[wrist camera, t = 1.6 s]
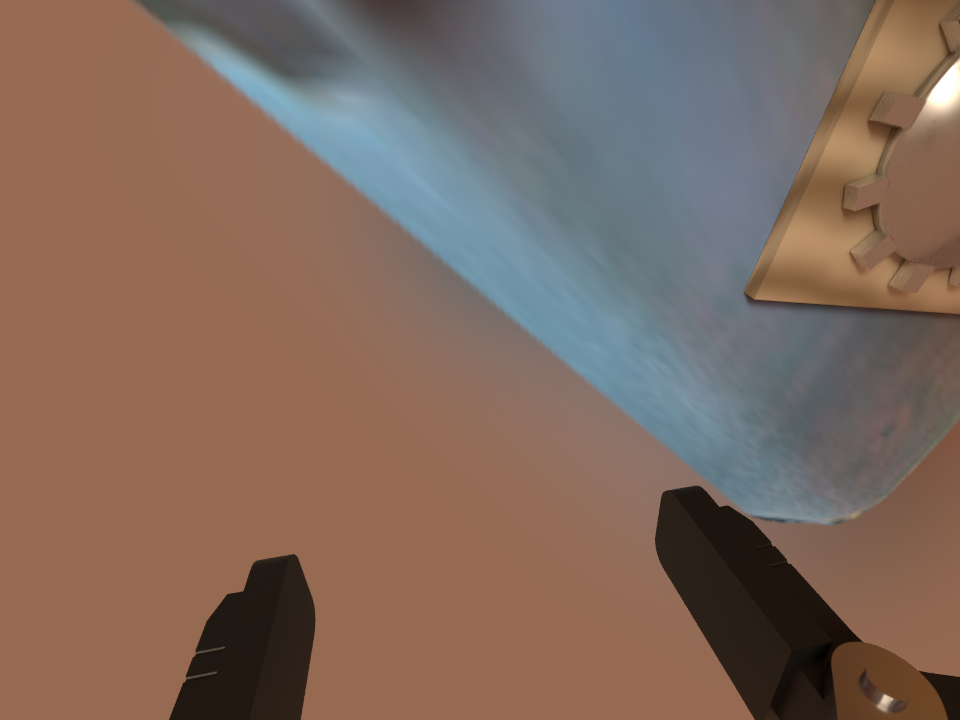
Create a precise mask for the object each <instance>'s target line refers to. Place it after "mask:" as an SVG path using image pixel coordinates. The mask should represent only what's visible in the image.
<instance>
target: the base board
mask: <svg viewBox="0 0 960 720" xmlns="http://www.w3.org/2000/svg"><path fill="white" fill-rule="evenodd" d="M958 5H960V0H876V1H875V3H874V6H873V8H872V10H871V12H870V14H869V17H868V19H867V21H866V23H865V26H864V28H863V30H862V32H861V34H860V37H859V39H858V41H857V43H856V45H855V48H854V50H853V52H852V54H851V57H850V59H849V61H848V63H847V65H846V68H845V70H844V72H843V74H842V76H841V79H840V81H839V83H838V85H837V88H836V90H835V92H834V94H833V96H832V99H831V101H830V103H829V105H828V107H827V110H826V112H825V114H824V116H823V119H822V121H821V123H820V125H819V127H818V130H817V132H816V134H815V136H814V138H813V141H812V143H811V145H810V147H809V150H808V152H807V154H806V156H805V158H804V161H803V163H802V165H801V167H800V170H799V172H798V174H797V176H796V178H795V181H794V183H793V185H792V187H791V189H790V192H789V194H788V196H787V198H786V201H785V203H784V205H783V207H782V209H781V212H780V214H779V216H778V218H777V220H776V223H775V225H774V227H773V229H772V232H771V234H770V236H769V238H768V240H767V243H766V245H765V247H764V249H763V251H762V254H761V256H760V258H759V260H758V263H757V265H756V267H755V269H754V271H753V274H752V276H751V278H750V280H749V282H748V285H747V287H746V289H745V291H744V293H746V294H747V295H749V296H750V297H752V298H753V299H756V300H770V301H784V302H798V303H812V304H826V305H840V306H855V307H869V308H883V309H897V310H911V311H925V312H939V313H953V314H960V287H957V286H955V285H952V284H950V283H949V280H950V276H951V273H952V269H953V267H950V268H935V269H934V270H933V272H932V273H931V274H930V276H929V277H928V278H927V280H926V281H925V282H924V284H923V285H922V286H921V288H920V289H919V290H918V292H917V293H913V292H908V291H902V290H899V289H897V288H895V287H892V286H890V285H888V284H889V283H890V282H891V280H892V279H893V277H894V276H895V274H896V273H897V272H898V270H899V269H900V267H901V266H902V264H903V263H904V262H905V260H906V259H905V258H902V257H900V256H898V255H897V254H895V253H893V252H892V253H891V254H890V255H889V256H887V257H886V258H885V259H884V260H882V261H881V262H880V263H878V264H877V265H876V266H875V267H873V268H872V269H871V270H869V269H867V268H864V267H862V266H860V265H858V264H857V262H856V260H855V259H854V257H853V256H852V254H851V252H850V251H852V250H853V249H854V248H855V247H856V246H858V245H859V244H860V243H861V242H863V241H864V240H865V239H866V238H868V237H869V236H870V235H871V234H872V233H874V232H875V231H876V230H877V229H876V226H875V223H874V217H873V211H872V206H869V207H866V208H863V209H860V210H857V211H853V210H850V209H847V208H843V201H844V192H845V184H848V183H851V182H854V181H857V180H860V179H863V178H865V177H868V176H871V175H874V174H876V173H877V169H878V165H879V162H880V159H881V157H882V154H883V151H884V148H885V146H886V143H887V141H888V139H889V137H890V135H891V133H892V131H893V129H894V127H891V126H887V125H884V124H880V123H877V122H873V121H870V120H869V118H870V117H871V115H872V113H873V111H874V110H875V108H876V106H877V104H878V103H879V101H880V99H881V97H882V96H883V94H884V92H901V93H905V94H908V95H911V96H914V94H915V93H916V92H917V90H918V89H919V87H920V86H921V85H922V84H923V82H924V81H925V80H926V79H927V77H928V76H929V75H930V74H931V72H932V71H933V70H934V69H935V68H936V67H937V65H938V64H939V63H940V62H941V61H942V60H943V59H944V58H945V57H946V56H947V55H948V54H949V53H950V49H949V46H948V43H947V41H946V38H945V35H944V32H943V29H942V27H941V24H940V22H941V21H942V20H943V19H944V18H945V17H946V16H948V15H949V14H950V13H951V12H952V11H953V10H954V9H955V8H956V7H957V6H958Z"/></svg>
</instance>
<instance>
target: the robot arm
mask: <svg viewBox="0 0 960 720" xmlns="http://www.w3.org/2000/svg"><path fill="white" fill-rule="evenodd" d="M655 544H656V551H657V554H658V557H659V560H660V563H661V564H662V566H663V568H664V570H665V572H666V573H667V575H668V577H669V578H670V580H671V581H672V583H673V585H674V586H675V588H676V590H677V591H678V593H679V595H680V597H681V598H682V600H683V601H684V603H685V605H686V606H687V608H688V610H689V611H690V613H691V615H692V616H693V618H694V620H695V621H696V623H697V625H698V626H699V628H700V630H701V631H702V633H703V634H704V636H705V638H706V639H707V641H708V643H709V644H710V646H711V648H712V649H713V651H714V653H715V654H716V656H717V657H718V659H719V661H720V662H721V664H722V666H723V667H724V669H725V671H726V672H727V674H728V676H729V677H730V679H731V681H732V682H733V684H734V685H735V687H736V689H737V691H738V692H739V694H740V696H741V697H742V699H743V701H744V702H745V704H746V706H747V707H748V709H749V710H750V712H751V714H752V715H753V717H754V719H755V720H960V677H955V676H948V675H941V674H934V673H927V672H922V671H918V670H917V669H916V668H914V667H913V666H912V665H911V664H909V663H908V662H906V661H905V660H904V659H902V658H901V657H899V656H897V655H896V654H894V653H892V652H890V651H888V650H886V649H884V648H881V647H879V646H876V645H873V644H869V643H864V642H862V641H861V640H860V639H859V638H858V637H857V636H856V635H855V634H854V633H853V632H852V631H851V630H850V629H849V628H848V627H847V625H846V624H845V623H844V622H843V621H842V620H841V619H840V618H839V617H838V615H837V614H836V613H835V612H834V611H833V610H832V609H831V608H830V607H829V606H828V605H827V603H826V602H825V601H824V600H823V599H822V598H821V597H820V596H819V594H818V593H816V591H815V590H814V589H813V588H812V587H811V586H810V585H809V584H808V582H807V581H806V580H805V579H804V578H803V577H802V576H801V575H800V574H799V572H798V571H797V570H796V569H795V568H794V567H793V566H792V565H791V564H788V563H787V559H786V558H785V557H784V556H783V555H782V554H781V552H779V550H778V549H777V548H776V547H775V546H774V547H773V546H772V544H771V541H770V540H769V539H768V538H767V537H766V536H765V535H764V534H763V533H762V531H761V530H760V529H759V528H758V527H757V526H756V525H755V524H754V522H753V521H751V520H750V519H748V518H746V517H745V516H743V515H742V514H740V513H739V512H737V511H736V510H734V509H733V508H731V507H730V506H722V507H719V506H718V505H717V504H716V503H715V502H714V500H713V499H712V498H711V497H710V495H709V494H708V493H707V492H706V491H705V490H704V489H703V488H702V487H700V486H692V487H685V488H680V489H674V490H668V491H665V492H663V494H662V497H661V503H660V509H659V516H658V523H657V529H656V537H655ZM314 633H315V608H314V603H313V599H312V596H311V593H310V590H309V587H308V585H307V582H306V579H305V576H304V573H303V571H302V568H301V565H300V562H299V560H298V557H297V556H296V555H295V554H292V555H286V556H280V557H275V558H269V559H263V560H258V561H256V562H255V563H254V564H253V565H252V567H251V570H250V573H249V576H248V579H247V582H246V585H245V588H244V591H243V592H238V593H231V594H227V595H226V597H225V598H224V599H223V601H222V602H221V603H220V605H219V606H218V607H217V609H216V610H215V611H214V612H213V614H212V615H211V616H210V618H209V619H208V620H207V622H206V625H205V627H204V630H203V633H202V635H201V638H200V641H199V643H198V646H197V648H196V655H195V657H193V659H192V661H191V664H190V666H189V669H188V672H187V674H186V682H184V683H183V685H182V687H181V690H180V693H179V695H178V698H177V701H176V703H175V706H174V708H173V711H172V713H171V716H170V719H169V720H301V714H302V708H303V702H304V696H305V688H306V683H307V676H308V671H309V664H310V658H311V652H312V646H313V640H314Z"/></svg>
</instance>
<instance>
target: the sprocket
mask: <svg viewBox="0 0 960 720" xmlns="http://www.w3.org/2000/svg"><path fill="white" fill-rule="evenodd" d="M940 24H941V27H942V29H943V32H944V35H945V38H946V41H947V43H948V46H949V49H950V53H949V54H948V55H947V56H946V57H945V58H944V59H943V60H942V61H941V62H940V63H939V64H938V65H937V67H936V68H935V69H934V70H933V71H932V72H931V74H930V75H929V76H928V77H927V79H926V80H925V81H924V82H923V84H922V85H921V86H920V87H919V89H918V90H917V92H916V93H915V94H914V96H911V95H908V94H905V93H901V92H884V94H883V96H882V97H881V99H880V101H879V103H878V104H877V106H876V108H875V110H874V111H873V113H872V115H871V117H870V118H869V120H870V121H873V122H877V123H880V124H884V125H887V126H891V127H894V129H893V131H892V133H891V135H890V137H889V139H888V141H887V143H886V146H885V148H884V151H883V154H882V157H881V159H880V162H879V165H878V169H877V173H876V174H874V175H871V176H868V177H865V178H863V179H860V180H857V181H854V182H851V183H848V184H845V192H844V201H843V208H847V209H850V210H853V211H857V210H860V209H863V208H866V207H869V206H872V211H873V217H874V223H875V226H876V229H877V230H876V231H875V232H874V233H872V234H871V235H870V236H869V237H868V238H866V239H865V240H864V241H863V242H861V243H860V244H859V245H858V246H856V247H855V248H854V249H853V250H852V251H850V252H851V254H852V256H853V257H854V259H855V260H856V262H857V264H858V265H860V266H862V267H864V268H867V269H869V270H871V269H872V268H873V267H875V266H876V265H877V264H878V263H880V262H881V261H882V260H884V259H885V258H886V257H887V256H889V255H890V254H891V253H892V252H893V253H895V254H897V255H898V256H900V257H902V258H905V259H906V260H905V262H904V263H903V264H902V266H901V267H900V269H899V270H898V272H897V273H896V274H895V276H894V277H893V279H892V280H891V282H890V283H889V284H888V285H890V286H892V287H895V288H897V289H899V290H902V291H908V292H913V293H917V292H918V290H919V289H920V288H921V286H922V285H923V284H924V282H925V281H926V280H927V278H928V277H929V276H930V274H931V273H932V272H933V270H934V269H935V268H950V267H953V269H952V273H951V276H950V280H949V283H950V284H952V285H955V286H957V287H960V5H958V6H957V7H956V8H955V9H954V10H953V11H952V12H951V13H950V14H949V15H948V16H946V17H945V18H944V19H943V20H942V21H941V22H940Z"/></svg>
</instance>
